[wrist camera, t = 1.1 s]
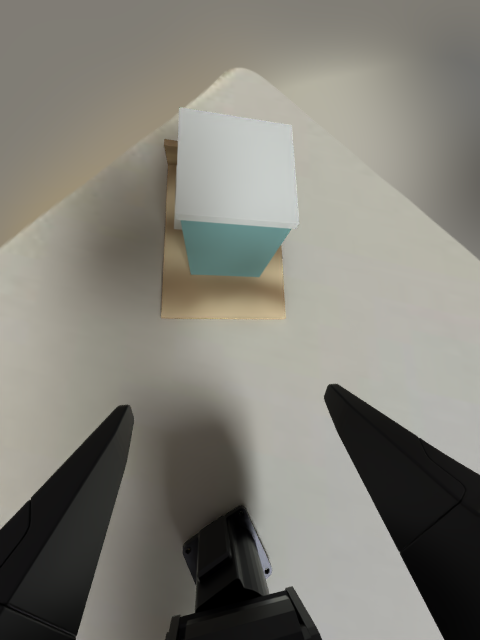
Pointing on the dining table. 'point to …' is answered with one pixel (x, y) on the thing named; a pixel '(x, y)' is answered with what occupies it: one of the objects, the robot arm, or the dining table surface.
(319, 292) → the dining table surface
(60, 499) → the robot arm
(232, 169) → the tin
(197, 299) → the plinth board
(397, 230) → the dining table surface
